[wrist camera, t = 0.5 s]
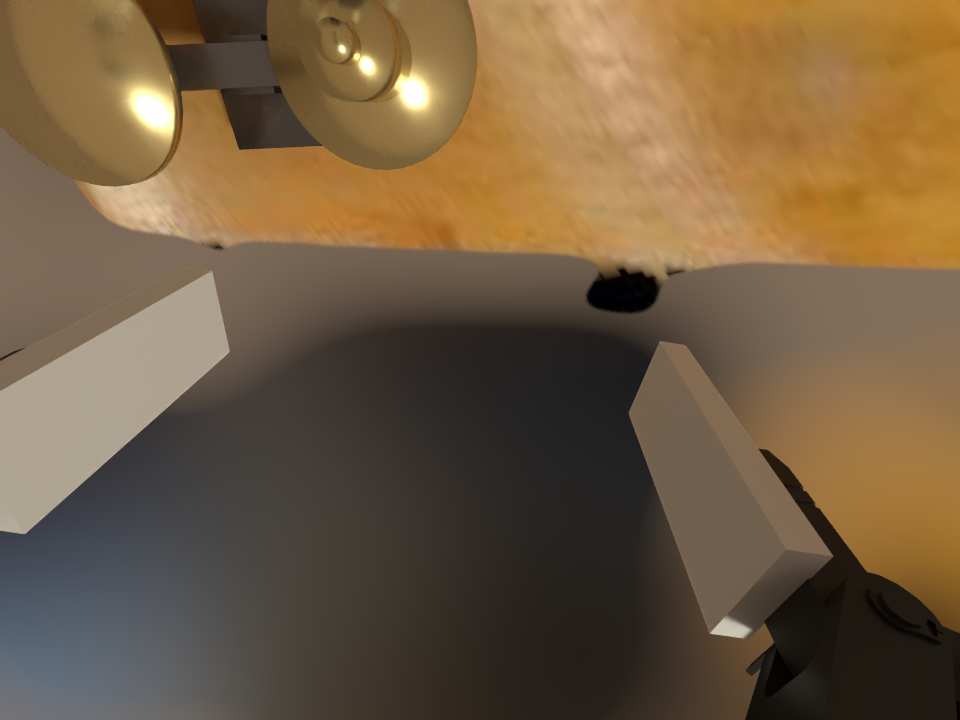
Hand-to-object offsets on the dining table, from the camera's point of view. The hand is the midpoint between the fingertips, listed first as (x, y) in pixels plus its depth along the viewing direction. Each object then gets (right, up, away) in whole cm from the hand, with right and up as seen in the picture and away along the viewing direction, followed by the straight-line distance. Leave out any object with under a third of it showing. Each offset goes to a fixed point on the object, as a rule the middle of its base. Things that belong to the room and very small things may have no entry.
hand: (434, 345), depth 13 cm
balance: (-14, +21, +19) cm, 32 cm away
